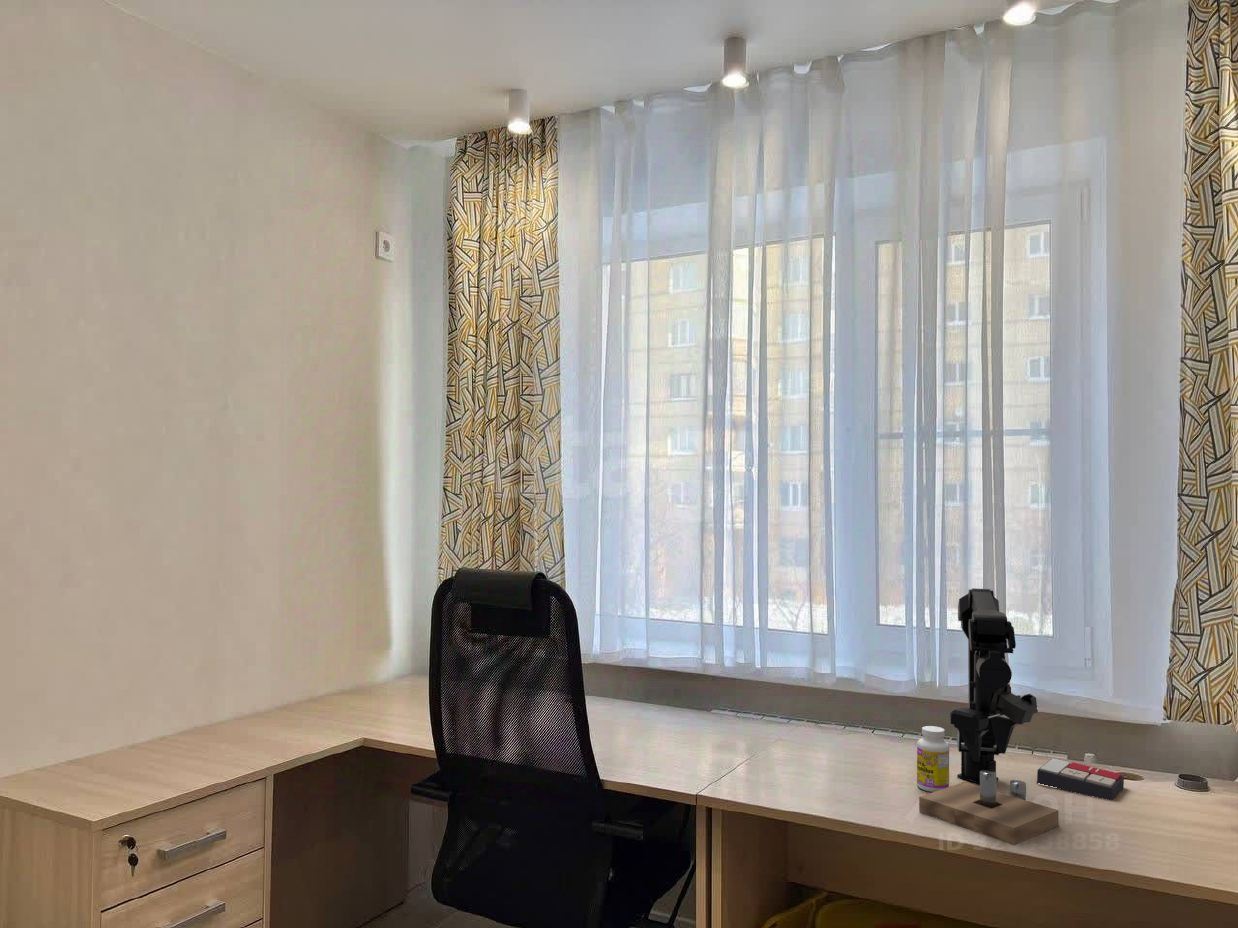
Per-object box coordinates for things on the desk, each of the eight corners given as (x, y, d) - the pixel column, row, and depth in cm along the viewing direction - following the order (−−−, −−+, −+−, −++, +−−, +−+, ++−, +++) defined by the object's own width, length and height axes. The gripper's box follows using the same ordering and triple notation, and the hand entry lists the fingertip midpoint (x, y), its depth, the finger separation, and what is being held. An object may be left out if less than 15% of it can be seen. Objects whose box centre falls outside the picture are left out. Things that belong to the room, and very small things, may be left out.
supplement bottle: (910, 785, 195) (910, 726, 195) (933, 781, 197) (933, 723, 198) (932, 794, 189) (932, 733, 189) (956, 791, 191) (956, 730, 192)
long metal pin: (976, 817, 175) (976, 771, 176) (985, 814, 177) (985, 769, 178) (990, 822, 173) (990, 775, 173) (999, 819, 175) (999, 773, 175)
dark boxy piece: (1112, 784, 187) (1037, 766, 197) (1111, 805, 187) (1036, 785, 197) (1124, 772, 195) (1051, 755, 205) (1123, 792, 195) (1050, 773, 205)
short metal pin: (1007, 803, 184) (1007, 781, 184) (1015, 800, 186) (1015, 778, 186) (1021, 807, 182) (1021, 785, 182) (1028, 804, 183) (1028, 782, 184)
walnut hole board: (919, 811, 178) (919, 796, 179) (964, 796, 188) (964, 781, 188) (1014, 844, 162) (1014, 827, 162) (1058, 825, 172) (1058, 809, 172)
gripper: (1001, 691, 165) (1001, 776, 164) (1053, 679, 176) (1053, 759, 175) (948, 680, 174) (948, 761, 173) (1000, 669, 185) (1000, 745, 184)
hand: (989, 756), depth 176 cm, fingers open, 9 cm apart
